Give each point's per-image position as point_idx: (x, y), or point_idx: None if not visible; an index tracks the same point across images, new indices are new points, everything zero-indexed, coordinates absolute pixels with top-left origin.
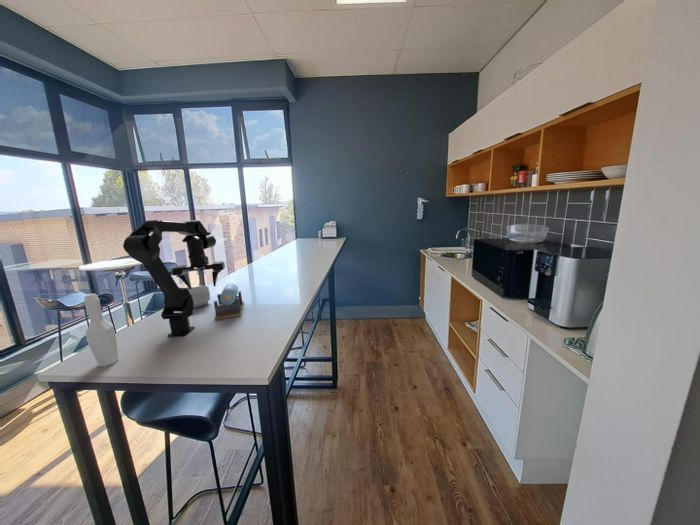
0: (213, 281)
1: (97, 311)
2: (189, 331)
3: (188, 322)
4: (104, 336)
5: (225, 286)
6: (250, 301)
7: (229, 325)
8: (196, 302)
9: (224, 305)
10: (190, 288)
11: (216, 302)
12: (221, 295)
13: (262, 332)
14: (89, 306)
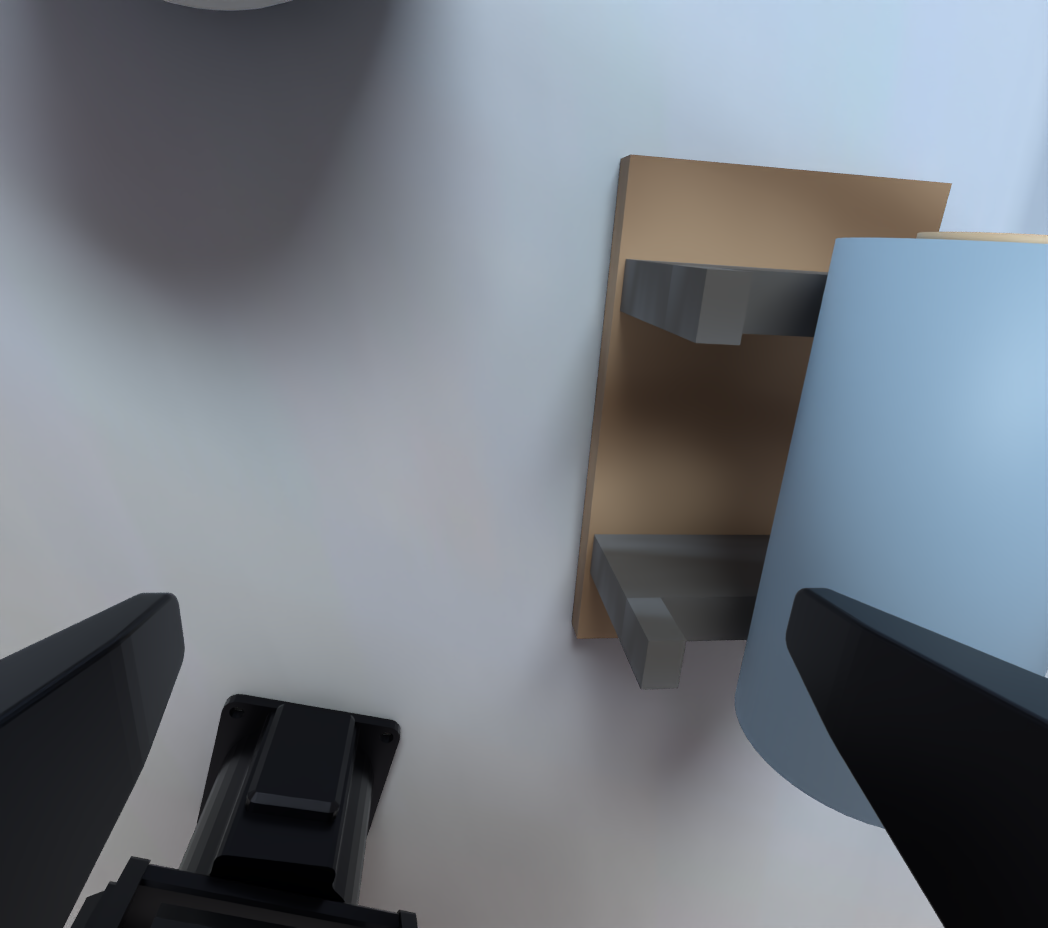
0: (896, 829)
1: None
2: (378, 797)
3: (365, 840)
4: None
5: (990, 376)
6: (1021, 141)
7: (700, 764)
8: (215, 3)
9: (740, 635)
10: (169, 695)
11: (672, 675)
12: (811, 785)
13: (889, 919)
14: None
